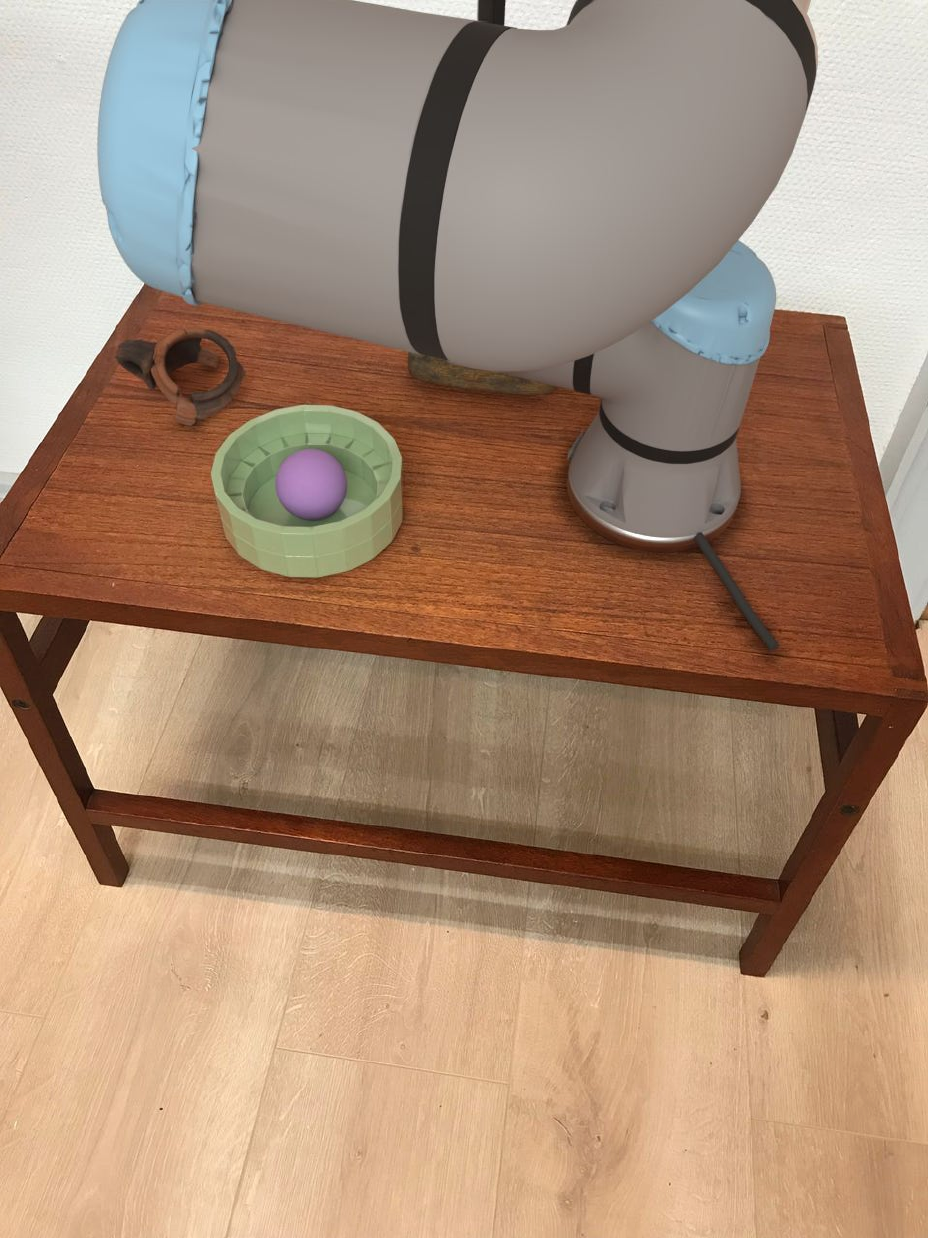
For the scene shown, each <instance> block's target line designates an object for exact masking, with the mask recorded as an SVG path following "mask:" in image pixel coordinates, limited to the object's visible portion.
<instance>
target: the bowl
mask: <svg viewBox="0 0 928 1238" xmlns="http://www.w3.org/2000/svg"><path fill="white" fill-rule="evenodd" d="M304 449H317V450H321V451H324V452H326V453H328V454H330V455H331V456H333V457H334V458H335V459H336V460H337V461H338V462H339V463H340V465H341V466H342V468H343V470H344V472H345V475H346V479H347V492H346V496H345V499H344V501H343V503H342V505H341V506H340V507H339V509H338V510H337V511H336V512H334V513H333V514H332V515H330V516H328V517H326V518H324V519H320V520H304V519H300V518H298V517H296V516H294V515H292V514H291V513H289V512H288V511H287V510H286V509H285V508H284V507H283V505H282V504H281V502H280V500H279V498H278V496H277V492H276V485H275V482H276V475H277V472H278V470H279V468H280V466H281V464H282V463H283V462H284V461H285V459H286V458H287V457H289V456H290V455H292V454H293V453H295V452H297V451H300V450H304ZM403 472H404V467H403V456H402V454H401V452H400V449H399V446H398V444H397V442H396V440H395V438H394V437H393V436H392V435H391V434H390V433H389V432H388V430H387V429H386V428H384V427H383V426H382V425H381V424H380V423H379V422H378V421H376V420H374V419H373V418H371V417H369V416H366V415H364V414H362V413H361V412H359V411H357V410H351V409H348V408H343V407H338V406H335V405H330V404H329V405H328V404H326V405H325V404H298V405H295V406H289V407H282V408H277V409H273V410H271V411H269V412H266V413H264V414H262V415H258V416H257V417H254V418H252V419H250V420H248V421H246V422H245V423H243V424H242V425H241V426H240V427H238V428H237V429H235V430H234V431H233V432H231V433H230V434H229V435H228V436H227V438H226V439H225V440H224V441H223V443H222V444H221V446H220V447H219V448H218V450H217V451H216V452H215V455H214V459H213V463H212V467H211V471H210V478H211V482H212V488H213V492H214V495H215V499H216V500H215V501H216V504H217V508H218V512H219V517H220V520H221V524H222V528H223V532H224V536H225V539H226V540H227V541H228V543H229V544H230V545H231V547H232V548H233V549H234V551H235V552H236V553H237V554H238V556H239V557H241V558H243V559H244V560H246V561H247V562H248V563H251V565H254V566H255V567H257V568H258V569H260V570H262V571H265V572H269V573H273V574H277V575H280V576H283V577H287V578H288V577H289V578H313V579H314V578H322V577H327V576H332V575H337V574H341V573H346V572H349V571H351V570H354V569H355V568H357V567H360V566H362V565H364V564H365V563H368V562H369V561H371V560H374V559H375V558H376V557H377V556H378V555H379V554H381V552H382V551H383V550H385V549H386V548H387V547H388V546H389V545H390V544H391V543H392V542H393V541H394V539H395V537H396V535H397V533H398V530H399V529H400V527H401V525H402V523H403V519H404V517H403V516H404V505H405V499H404V498H405V497H404V473H403Z"/></svg>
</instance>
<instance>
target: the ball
mask: <svg viewBox="0 0 928 1238" xmlns="http://www.w3.org/2000/svg"><path fill="white" fill-rule="evenodd" d="M275 485H276V492H277V496H278V498H279V500H280V502H281V504H282V505H283V507H284V508H285V509H286V510H287V511H288V512H289V513H291V514H292V515H294V516H296V517H298V518H300V519H304V520H320V519H324V518H326V517H328V516H330V515H332V514H333V513H334V512H336V511H337V510H338V509H339V507H340V506H341V505H342V503H343V501H344V499H345V496H346V492H347V479H346V475H345V472H344V470H343V468H342V466H341V465H340V463H339V462H338V461H337V460H336V459H335V458H334V457H333V456H331V455H330V454H328V453H326V452H324V451H321V450H317V449H304V450H300V451H297V452H295V453H293V454H292V455H290V456H289V457H287V458H286V459H285V461H284V462H283V463H282V464H281V466H280V468H279V470H278V472H277V475H276V482H275Z"/></svg>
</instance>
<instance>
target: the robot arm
mask: <svg viewBox="0 0 928 1238" xmlns="http://www.w3.org/2000/svg"><path fill="white" fill-rule="evenodd" d="M476 2H477V4H476V5H477V6H476V10H477V11H476V19H468V18H464V17H463V18H462V17H458V16H457V17H456V16H450V15H449V16H448V15H441V14H436V13H429V12H423V11H417V10H411V9H406V8H400V7H393V6H389V5H388V6H387V5H383V4H376V3H371V2H366V1H360V0H139V1H137V3H136V5H135V7H134V8H132V9H131V10H130V11H129V12H128V13H127V14H126V16H125V18H124V20H123V22H122V23H121V25H120V27H119V30H118V32H117V34H116V37H115V39H114V42H113V45H112V47H111V51H110V54H109V57H108V61H107V65H106V69H105V73H104V77H103V81H102V87H101V93H100V101H99V109H98V120H97V137H96V140H97V141H96V143H97V144H96V146H97V147H96V151H97V152H96V155H97V172H98V182H99V189H100V195H101V201H102V204H103V205H104V207H105V210H106V215H107V216H106V218H107V223H108V228H109V231H110V235H111V238H112V240H113V242H114V245H115V247H116V250H117V251H118V253H119V255H120V257H121V258H122V260H123V262H124V263H125V265H126V266H127V267H128V269H129V270H130V271H131V273H132V274H134V276H135V277H137V279H139V280H140V281H141V282H142V283H144V284H145V285H146V286H148V287H150V288H151V289H155V290H158V291H161V292H165V293H167V294H171V295H175V296H177V297H180V298H182V299H183V301H184V302H185V303H186V304H188V305H190V306H196V307H197V306H201V305H202V303H203V304H207V305H212V306H216V307H221V308H222V309H223V308H224V309H228V310H233V311H236V312H241V313H244V314H248V315H253V316H257V317H262V318H266V319H270V320H273V321H277V322H282V323H286V324H290V325H295V326H299V327H303V328H307V329H312V330H315V331H320V332H323V333H328V334H332V335H337V336H341V337H344V338H348V339H353V340H358V341H360V342H361V341H362V342H366V343H369V344H374V345H377V346H381V347H387V348H390V349H395V350H399V351H403V352H407V353H408V352H411V353H415V354H419V355H426V356H431V357H435V358H439V359H444V360H447V361H448V362H450V363H452V364H455V365H460V366H465V367H469V368H473V369H480V370H487V371H494V372H498V373H503V374H507V375H511V376H515V377H519V378H523V379H528V380H532V381H536V382H540V383H544V384H549V385H553V386H556V388H562V389H566V390H570V391H574V392H576V393H581V394H585V395H590V396H593V397H598V398H600V403H599V407H598V412H597V413H596V415H595V416H594V418H593V420H592V421H591V423H590V424H589V426H588V428H587V430H586V431H585V428H582V430H581V432H580V433H579V435H578V437H577V438H576V440H575V441H574V442H573V445H572V446H571V448H570V449H569V450H568V452H567V457H566V462H568V461H569V466H568V472H567V479H566V491H567V496H568V500H569V502H570V504H571V506H572V508H573V510H574V512H575V513H576V515H577V516H578V517H579V518H580V519H581V521H582V522H583V523H584V524H585V525H587V527H589V529H591V530H593V531H594V532H595V533H597V534H598V535H599V536H601V537H602V538H605V539H607V540H609V541H610V542H613V543H615V544H617V545H620V546H623V547H625V548H629V549H632V550H636V551H641V552H647V553H660V554H661V553H666V554H667V553H678V552H685V551H689V550H693V549H696V548H699V549H700V550H701V552H702V553H703V556H705V558H706V559H707V561H708V562H709V564H710V565H711V567H712V569H713V570H714V571H715V573H716V575H717V576H718V577H719V580H720V581H721V582H722V584H723V585H724V587H725V589H726V590H727V592H728V593H729V595H730V596H731V598H732V599H733V601H734V603H735V604H736V606H737V608H738V609H739V610H740V612H741V614H742V616H744V617H745V619H746V621H747V623H749V624H748V625H750V626H751V628H752V629H753V631H754V632H755V633H756V635H757V636H758V637H759V639H761V641H762V642H763V644H764V645H765V646H766V647H767V649H769V650H768V651H770V652H774V651H775V650H777V649H778V648H779V647H780V644H779V642H778V641H777V640H776V639H775V637H774V636H773V635H772V634H771V632H770V631H769V629H767V627H766V626H765V625H764V623H763V622H762V620H761V619H760V618H759V617H758V615H757V614H756V612H755V611H754V609H753V607H752V606H751V605H750V603H749V602H748V600H747V599H746V597H745V596H744V594H743V592H742V590H741V589H740V588H739V586H738V585H737V583H736V581H735V580H734V578H733V577H732V575H731V573H730V572H729V571H728V570H727V568H726V566H725V565H724V563H723V561H722V559H720V557H719V556H718V554H717V553H716V551H715V549H714V548H713V547H712V545H711V544H710V542H712V541H713V540H715V539H717V538H718V537H720V536H721V534H722V533H724V532H725V531H726V529H727V528H728V527H729V526H730V525H731V523H732V521H733V518H734V516H735V513H736V510H737V508H738V504H739V502H740V498H741V493H742V481H741V474H740V473H741V472H740V464H739V463H740V462H739V452H738V442H737V436H738V433H739V430H740V426H741V425H742V424H741V423H742V420H743V417H744V415H745V411H746V407H747V404H748V401H749V397H750V394H751V390H752V387H753V383H754V380H755V377H756V373H757V371H758V367H759V363H760V360H761V357H762V356H763V355H765V353H766V350H767V348H768V347H769V343H770V339H771V330H770V329H771V325H772V321H773V317H774V313H775V310H776V304H777V288H776V284H775V280H774V278H773V275H772V273H771V271H770V270H769V267H768V266H767V265H766V263H765V262H764V261H763V260H762V259H761V258H759V257H758V256H757V255H758V254H757V253H756V252H755V251H754V250H753V249H752V248H750V247H749V246H748V245H747V244H746V243H744V242H742V241H741V240H740V239H741V238H742V236H743V235H744V234H745V232H747V230H748V229H749V227H750V226H751V225H752V224H753V222H754V221H755V219H756V218H757V217H758V216H759V213H760V212H761V211H762V209H763V208H764V206H765V204H766V203H767V201H768V200H769V198H770V197H771V195H772V194H773V192H774V191H775V189H776V188H777V186H778V184H779V182H780V180H781V178H782V176H783V174H784V171H785V170H786V167H787V166H788V164H789V162H790V159H791V157H792V155H793V153H794V150H795V147H796V144H797V141H798V139H799V135H800V133H801V131H802V130H801V129H802V127H803V125H804V121H805V118H806V115H807V111H808V108H809V105H810V102H811V98H812V96H813V92H814V87H815V83H816V79H817V73H818V66H819V49H818V43H817V42H818V41H817V39H816V38H817V37H816V33H815V30H814V27H813V24H812V22H811V19H810V16H809V15H808V12H809V8H810V5H811V3H812V0H575V2H574V4H573V6H572V9H571V11H570V13H569V16H568V18H567V22H566V24H565V26H562V27H559V28H557V29H556V28H555V29H530V28H529V29H527V28H518V27H513V26H508V25H505V24H506V23H505V22H506V19H505V18H506V2H507V1H506V0H477V1H476ZM569 459H570V460H569Z"/></svg>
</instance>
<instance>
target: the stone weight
mask: <svg viewBox="0 0 928 1238" xmlns="http://www.w3.org/2000/svg"><path fill="white" fill-rule="evenodd" d="M407 369H408V373H409V375H410V377H412V378H414V379H416V380H419V381H422V382H425V383H429V384H433V385H438V386H445V387H450V388H457V389H464V390H470V391H476V392H477V391H479V392H487V393H488V392H490V393H496V394H497V393H498V394H508V395H522V396H536V395H549V394H552V393H554V392H555V391H556V389H557V386H553V385H549V384H544V383H540V382H536V381H532V380H528V379H523V378H519V377H515V376H511V375H507V374H503V373H498V372H494V371H487V370H480V369H473V368H469V367H465V366H460V365H455V364H452V363H450V362H448V361H447V360H444V359H439V358H435V357H431V356H426V355H419V354H415V353H411V352H407Z"/></svg>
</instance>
